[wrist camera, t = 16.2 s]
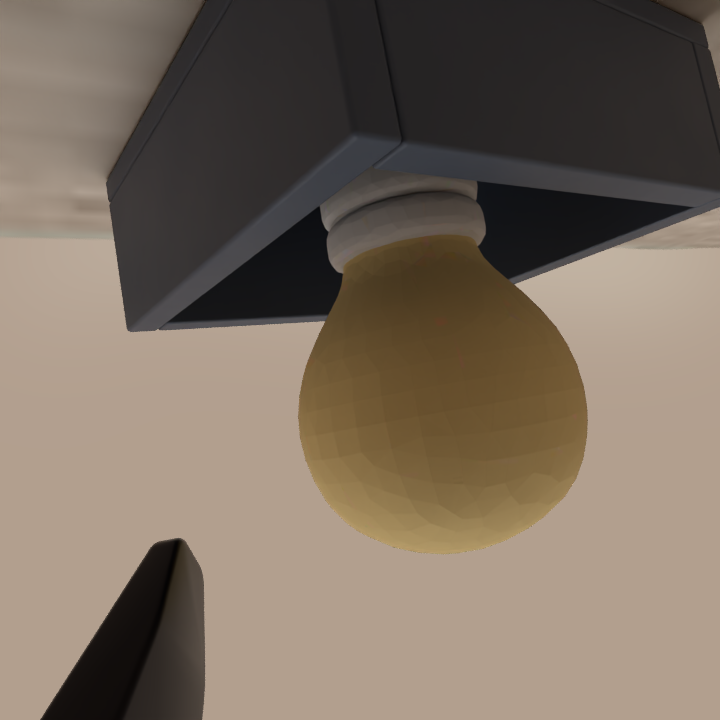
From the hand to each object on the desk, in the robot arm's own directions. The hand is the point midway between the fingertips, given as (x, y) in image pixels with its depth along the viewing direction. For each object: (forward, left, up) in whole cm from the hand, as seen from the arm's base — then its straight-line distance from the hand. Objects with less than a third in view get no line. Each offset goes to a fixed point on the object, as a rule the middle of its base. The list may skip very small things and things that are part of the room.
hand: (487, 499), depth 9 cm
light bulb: (+5, -2, -8) cm, 10 cm away
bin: (+5, -2, -9) cm, 10 cm away
